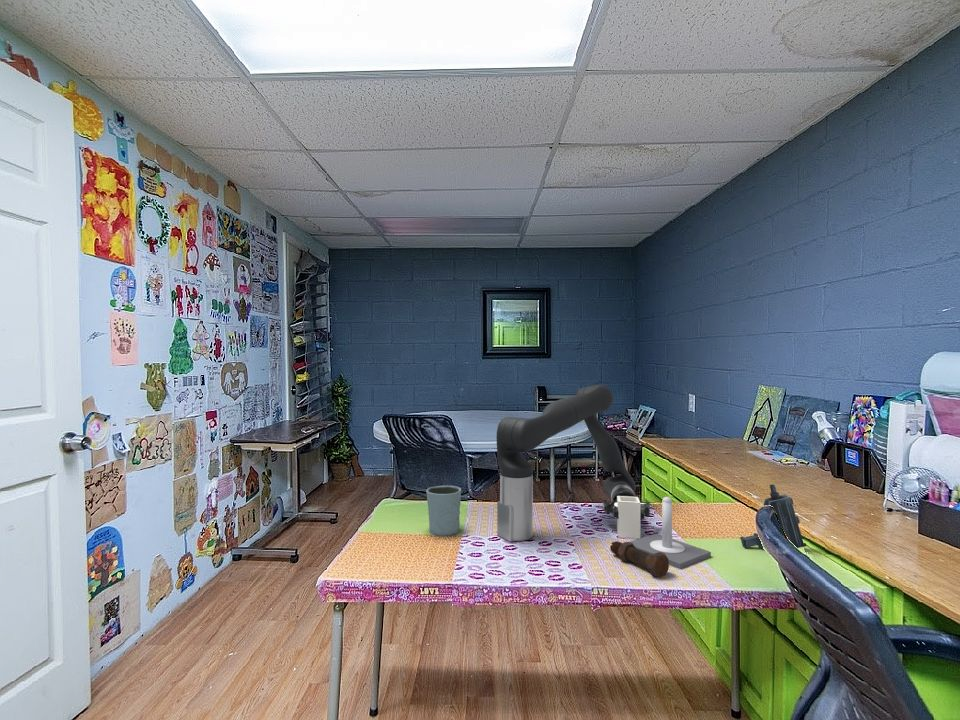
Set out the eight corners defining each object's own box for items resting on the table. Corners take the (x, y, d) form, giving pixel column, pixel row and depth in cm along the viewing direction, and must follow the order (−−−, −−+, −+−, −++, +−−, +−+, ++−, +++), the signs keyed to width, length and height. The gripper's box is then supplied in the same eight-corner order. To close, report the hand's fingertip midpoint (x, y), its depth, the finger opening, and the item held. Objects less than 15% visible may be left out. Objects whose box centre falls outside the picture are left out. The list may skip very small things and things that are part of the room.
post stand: (679, 568, 117) (679, 509, 117) (625, 547, 130) (625, 493, 130) (710, 556, 124) (710, 500, 124) (656, 537, 137) (656, 486, 137)
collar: (640, 538, 136) (640, 502, 136) (618, 537, 137) (618, 501, 137) (637, 531, 142) (637, 497, 142) (617, 530, 143) (617, 495, 143)
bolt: (616, 561, 126) (664, 582, 113) (603, 554, 124) (650, 575, 111) (624, 539, 128) (672, 557, 114) (611, 532, 125) (659, 550, 112)
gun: (727, 493, 132) (784, 480, 130) (744, 554, 131) (801, 542, 130) (731, 496, 129) (789, 482, 128) (748, 558, 129) (807, 545, 127)
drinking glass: (452, 538, 136) (452, 495, 136) (420, 534, 140) (420, 492, 140) (466, 527, 146) (466, 486, 146) (435, 523, 149) (435, 483, 149)
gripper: (600, 486, 155) (602, 501, 139) (647, 488, 152) (656, 504, 136) (600, 509, 155) (602, 527, 139) (647, 512, 152) (656, 531, 136)
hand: (629, 516), depth 137 cm, fingers closed on collar, 5 cm apart
